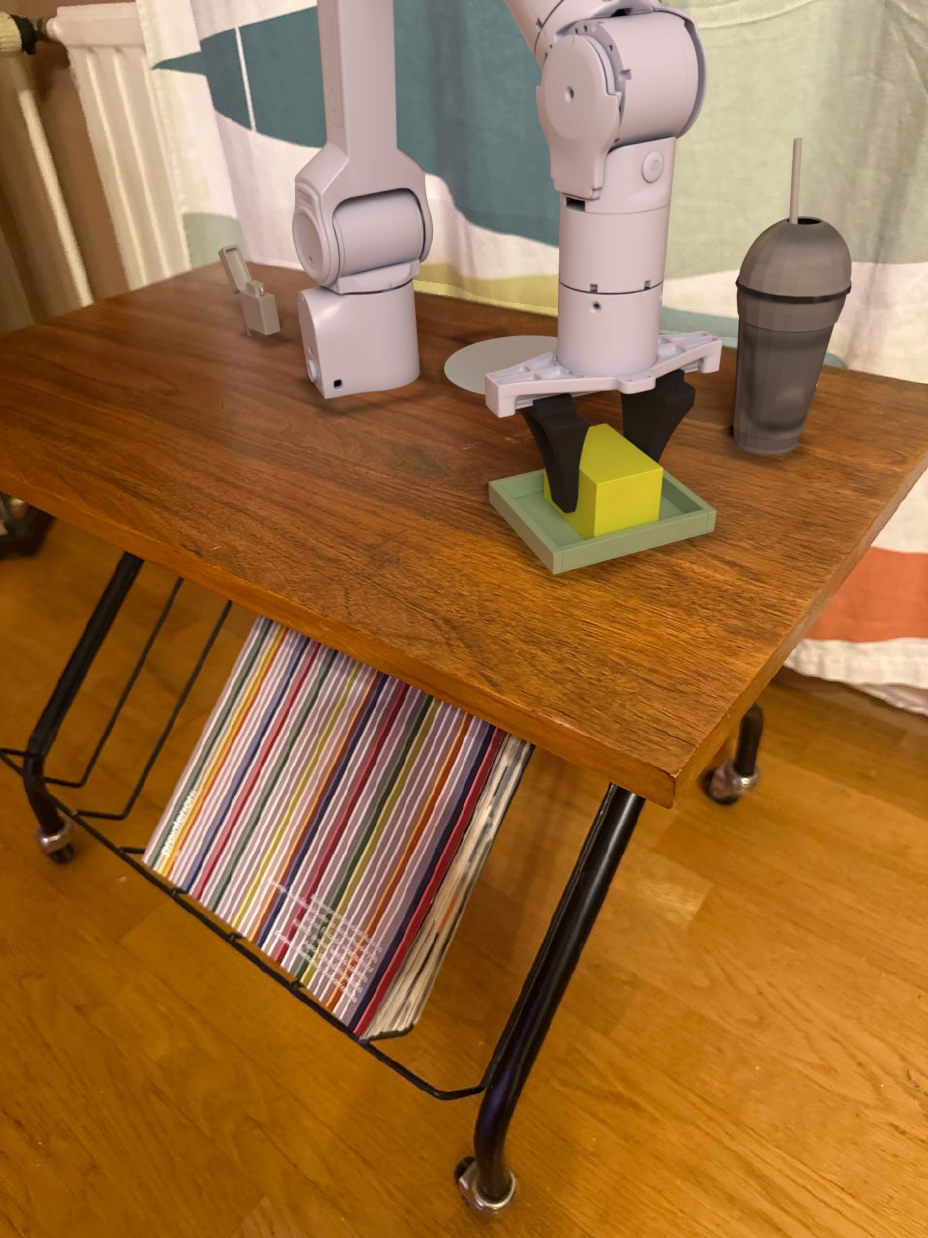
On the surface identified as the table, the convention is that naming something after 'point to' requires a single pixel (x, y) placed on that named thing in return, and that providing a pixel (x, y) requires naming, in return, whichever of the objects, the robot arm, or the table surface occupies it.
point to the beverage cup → (786, 323)
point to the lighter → (250, 293)
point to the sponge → (612, 485)
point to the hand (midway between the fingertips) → (599, 496)
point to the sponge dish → (570, 550)
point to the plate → (493, 358)
